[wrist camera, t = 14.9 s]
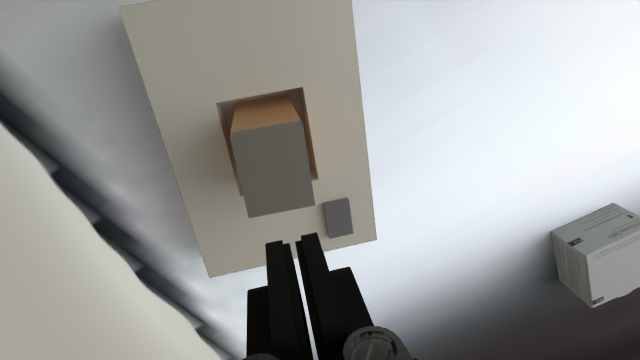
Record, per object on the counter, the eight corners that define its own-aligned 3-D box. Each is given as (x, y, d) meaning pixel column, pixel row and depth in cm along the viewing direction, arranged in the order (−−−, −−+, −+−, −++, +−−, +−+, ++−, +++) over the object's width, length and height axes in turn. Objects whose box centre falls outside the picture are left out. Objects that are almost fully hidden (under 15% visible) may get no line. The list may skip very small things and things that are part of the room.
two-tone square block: (236, 102, 29) (229, 137, 20) (287, 93, 30) (303, 124, 21) (249, 161, 31) (248, 218, 22) (296, 153, 32) (315, 205, 23)
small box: (613, 200, 41) (659, 222, 36) (617, 253, 44) (659, 280, 40) (548, 229, 41) (586, 256, 36) (556, 281, 44) (592, 311, 40)
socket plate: (140, 9, 27) (114, 6, 22) (332, -21, 28) (350, -31, 23) (214, 244, 35) (208, 282, 30) (360, 212, 36) (379, 243, 31)
